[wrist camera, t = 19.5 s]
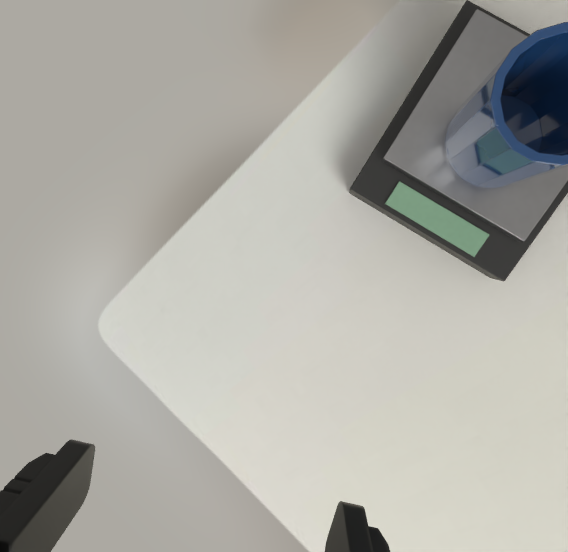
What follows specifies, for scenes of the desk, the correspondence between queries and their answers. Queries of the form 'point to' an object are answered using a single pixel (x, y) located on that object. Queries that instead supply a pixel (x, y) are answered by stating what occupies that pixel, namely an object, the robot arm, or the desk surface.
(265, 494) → the desk surface
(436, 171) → the scale pan
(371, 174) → the scale
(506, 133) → the cup
